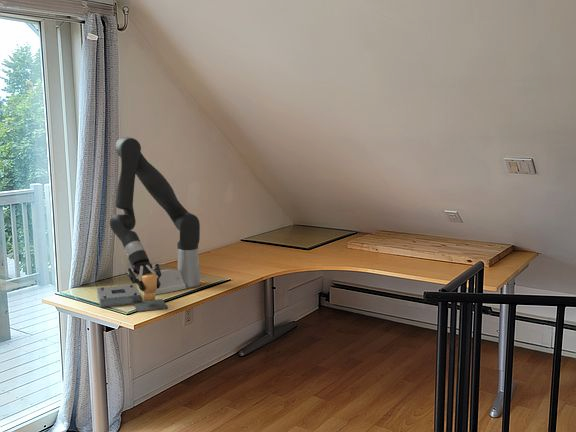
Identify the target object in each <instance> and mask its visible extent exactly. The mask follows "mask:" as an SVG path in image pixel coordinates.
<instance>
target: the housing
mask: <svg viewBox="0 0 576 432" xmlns="http://www.w3.org/2000/svg"><path fill="white" fill-rule="evenodd" d="M96 293H97V295H96V296H97V299H98V303H99V307H100V308H108V307H116V306H117V305H118V306H126V305H125V304H128V305H133V304H132V303H136V302H141V301H142V298H141V297H142V296H141V293H140V291H139V289H138V287H137V284H133V283H132V284H126V285H116V286H114V285H113V286H106V287H103V286H101V287H97V288H96ZM118 306H117V307H118Z"/></svg>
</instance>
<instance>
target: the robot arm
mask: <svg viewBox="0 0 576 432" xmlns="http://www.w3.org/2000/svg"><path fill="white" fill-rule="evenodd" d="M115 152H116V153H117V155H118V157H119V158H120V163H121V169H120V174H119V180H118V182H117V187H116V193H115V194H116V196H115V208H118V209H120V210H123V213H124V214H114V215H112V216H111V218H110V219H109V227H110V228H111V230H112V232H113V233H114V235H115V236H116V237H117V238H118V239H119V240H120V242H121V243H122V246H123V249H124V251H125V254H126V257H127V260H128V262H129V264H130V266H131V267H129V268H128V269H127V271H126V273H125V274H126V275H127V277H128V278H129V280H130V281H131V283H132V285H135V284H136V285H138V288H139V290H140V291H141V292H144V291H145V289H146V288H145V286H144V283H143V281H142V277H141V276H142V275H144V274H149V273H152V274H156V275H157V289H158V288H159V287H160V285H161V284H160V281H159V278H160V277H161V271H162V270H161V268H160V265H159V263H155V264H152V263H151V262H150V259H149V256H148V254H147V252H146V250H145V247H144V246H143V244H142V243H141V240H140V237H139V235H138V234H137V232H136V231H135V230H134V228H135V227H136V223H137V221H136V217H135V210H134V196H135V195H134V193H135V182H136V176H137V178H138V180H139V181H140V182H141V184H142V186H143V187H144V188H145V189H146V191H147V192H148V193H149V194H150V196H151V197H152V198H153V199H154V200H155V201H156V203H157V204H158V205H159V206H160V207H161V208H162V209H163V210H164V211H165V212H166V213H167V215H168V217H169V218H170V220H171V222H173V224H174V226H175V228H176V229H177V230H178V231H179V241H177V243H176V244H177V270H178V271H180V272H181V275H182V278H183V281H184V283H185V285H186V289H188V288H195V287H200V285H201V272H200V271H201V269H200V267H201V266H200V264H199V244H200V239H201V238H200V236H201V234H200V232H201V228H200V225H201V224H200V219H199V217H198V216H197V215H195V214H193V213H191V212H189V210H187V209H186V208H185V207H184V206H183V205H182V204H181V202H180V201H179V200H178V197H177V196H176V193H175V191H174V189H173V187H172V186H171V184H170V183H169V182H168V180H167V179H166V178H165V176H164V175H163V174H162V173H161V172H160V171H159V170H158V169H157V168H156V167H154V165H152V164H151V162H149V161H148V160H147V158H146V157H145V156H144V155H143V153H142V146H141V143H140V142H139V141H138V140H137V139H135V138H133V137H129V136H126V137H125V136H124V137H120V138H119V139H118V140H117V141H116V143H115ZM133 230H134V231H133ZM135 274H136V275H135Z"/></svg>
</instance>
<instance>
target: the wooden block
mask: <svg viewBox="0 0 576 432" xmlns="http://www.w3.org/2000/svg"><path fill="white" fill-rule="evenodd" d="M141 277H142V280H141V281H143V283H144V286H145V288H146V289H145V291H143V301H153V300H156V295H155V291H156V290H157V275H156V274H152V273H149V274H144V275H142V276H141Z"/></svg>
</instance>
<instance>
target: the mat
mask: <svg viewBox="0 0 576 432" xmlns="http://www.w3.org/2000/svg"><path fill="white" fill-rule="evenodd" d="M134 305H135V306H134ZM133 306H134V308H135V307H136V308H135V311H136V312H137V313H141V312H143V313H144V312H150V311H162V310H168V309H169V307H168V305H167V304H166V302H165V300H164V299H163V298H159V299H158V298H157V299H155V300H153V301H145V300H141V302H136V303H134V304H133Z"/></svg>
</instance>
